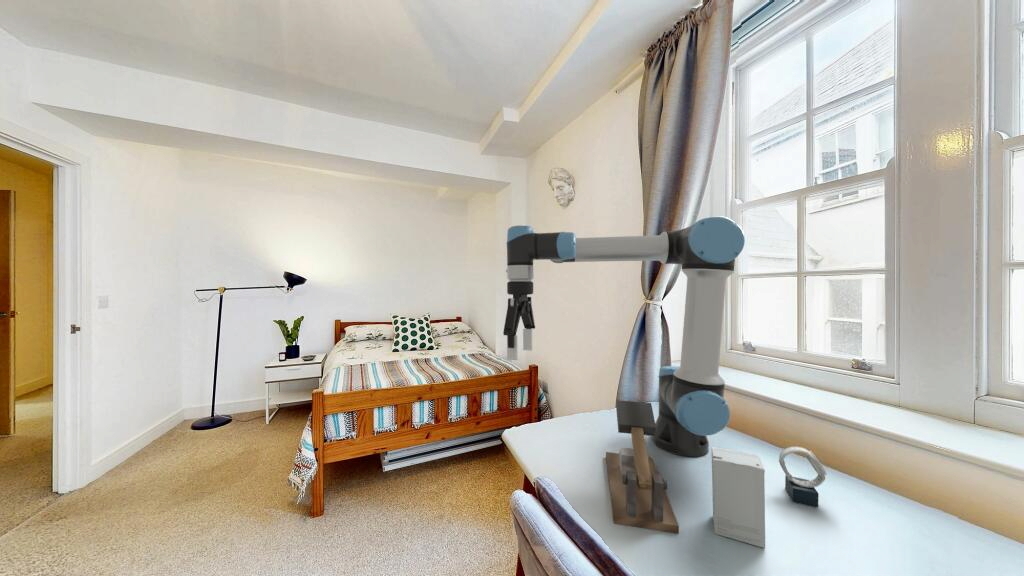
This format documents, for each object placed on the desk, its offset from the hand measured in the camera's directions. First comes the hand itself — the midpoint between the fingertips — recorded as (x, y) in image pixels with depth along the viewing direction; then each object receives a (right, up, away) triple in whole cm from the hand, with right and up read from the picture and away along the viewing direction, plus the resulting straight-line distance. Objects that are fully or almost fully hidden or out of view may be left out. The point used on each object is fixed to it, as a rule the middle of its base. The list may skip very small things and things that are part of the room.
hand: (520, 354), depth 96 cm
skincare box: (+41, -28, -31) cm, 59 cm away
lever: (+26, -17, -20) cm, 37 cm away
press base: (+26, -28, -18) cm, 42 cm away
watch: (+63, -28, -21) cm, 72 cm away
